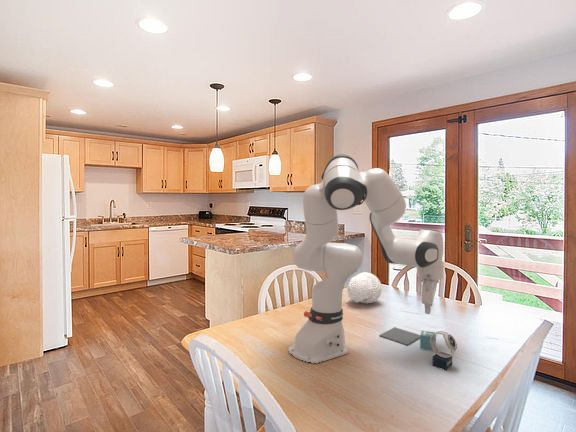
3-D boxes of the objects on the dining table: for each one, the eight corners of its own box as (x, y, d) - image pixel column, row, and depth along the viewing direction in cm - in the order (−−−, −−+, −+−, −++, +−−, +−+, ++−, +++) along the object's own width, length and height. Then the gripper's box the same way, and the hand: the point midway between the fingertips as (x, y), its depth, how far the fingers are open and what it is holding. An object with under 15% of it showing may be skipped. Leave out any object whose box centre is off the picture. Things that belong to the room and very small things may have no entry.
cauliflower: (358, 297, 188) (359, 268, 187) (388, 303, 176) (389, 272, 176) (340, 305, 172) (340, 274, 171) (372, 313, 161) (372, 279, 160)
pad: (407, 345, 125) (407, 344, 125) (379, 336, 134) (379, 335, 134) (422, 336, 134) (422, 335, 134) (394, 328, 142) (394, 327, 142)
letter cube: (434, 351, 121) (435, 337, 121) (420, 348, 124) (420, 334, 123) (435, 345, 126) (435, 332, 126) (421, 343, 128) (421, 329, 128)
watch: (452, 372, 106) (453, 338, 106) (427, 363, 112) (427, 331, 111) (458, 366, 110) (459, 333, 110) (433, 358, 116) (434, 327, 115)
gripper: (437, 279, 113) (436, 320, 113) (440, 268, 131) (439, 303, 132) (417, 277, 115) (416, 317, 116) (423, 266, 134) (422, 300, 134)
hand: (428, 309), depth 124 cm, fingers open, 8 cm apart
